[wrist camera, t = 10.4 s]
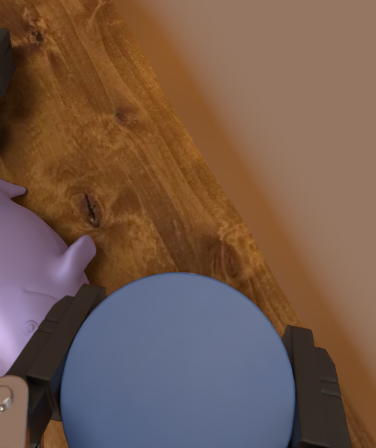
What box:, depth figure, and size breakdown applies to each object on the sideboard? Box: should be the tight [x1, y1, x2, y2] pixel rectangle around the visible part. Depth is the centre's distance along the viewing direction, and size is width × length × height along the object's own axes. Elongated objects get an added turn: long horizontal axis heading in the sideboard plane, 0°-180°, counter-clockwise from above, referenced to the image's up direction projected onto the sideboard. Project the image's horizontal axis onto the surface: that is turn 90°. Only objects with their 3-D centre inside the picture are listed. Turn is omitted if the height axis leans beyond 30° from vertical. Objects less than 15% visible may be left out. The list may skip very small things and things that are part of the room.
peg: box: [60, 272, 296, 448], centre depth 14 cm, size 6×6×10 cm
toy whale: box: [0, 179, 96, 377], centre depth 31 cm, size 14×25×16 cm, turn 28°
